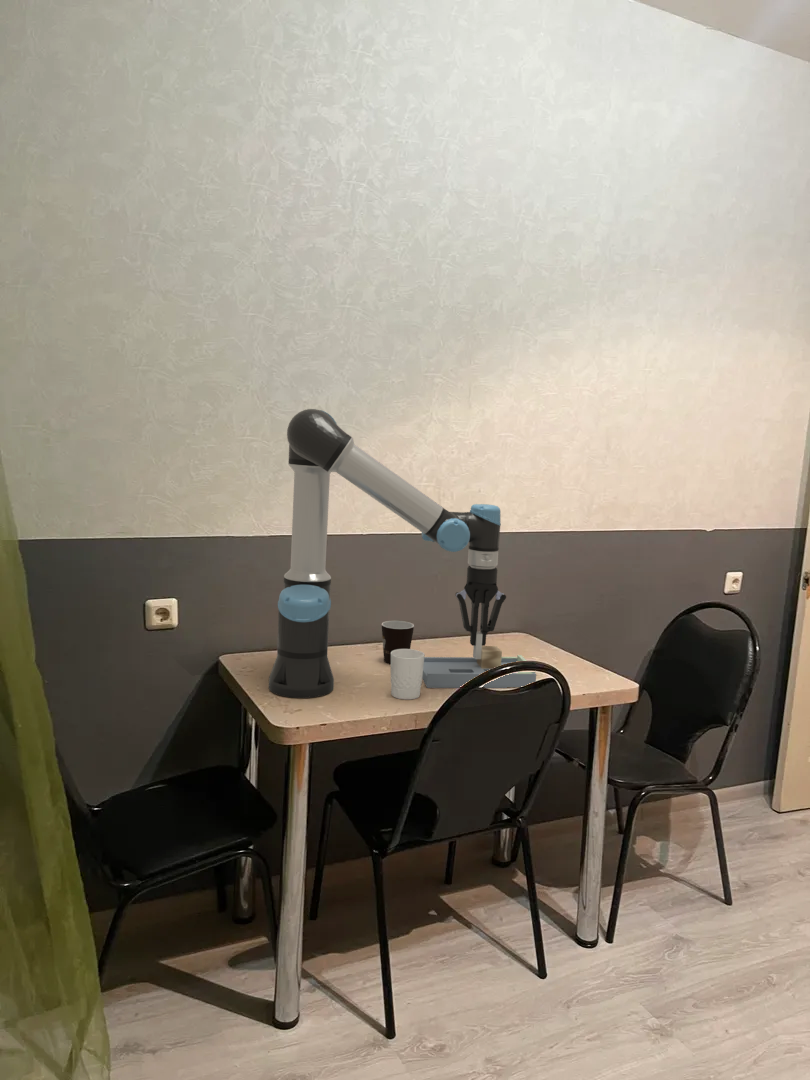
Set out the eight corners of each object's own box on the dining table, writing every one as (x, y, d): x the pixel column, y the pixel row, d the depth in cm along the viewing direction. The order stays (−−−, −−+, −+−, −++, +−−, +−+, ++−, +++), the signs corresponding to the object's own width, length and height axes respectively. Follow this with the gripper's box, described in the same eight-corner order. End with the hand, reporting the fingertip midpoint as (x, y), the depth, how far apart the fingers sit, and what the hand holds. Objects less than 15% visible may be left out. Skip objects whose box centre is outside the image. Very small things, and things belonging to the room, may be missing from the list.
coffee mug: (408, 667, 210) (410, 630, 208) (376, 664, 211) (378, 627, 210) (417, 655, 221) (418, 620, 220) (386, 652, 223) (388, 617, 221)
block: (481, 668, 204) (482, 651, 203) (476, 662, 208) (477, 645, 208) (500, 668, 204) (501, 651, 204) (495, 662, 209) (496, 645, 209)
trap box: (427, 687, 194) (428, 669, 194) (417, 670, 208) (418, 653, 207) (535, 687, 198) (536, 670, 198) (518, 670, 212) (520, 653, 211)
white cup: (410, 687, 194) (412, 647, 192) (429, 697, 187) (431, 656, 186) (382, 692, 190) (384, 650, 188) (400, 702, 183) (402, 660, 182)
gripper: (460, 568, 198) (455, 662, 201) (511, 569, 200) (505, 662, 203) (453, 563, 205) (448, 653, 208) (503, 564, 207) (497, 653, 210)
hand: (476, 657), depth 206 cm, fingers closed
